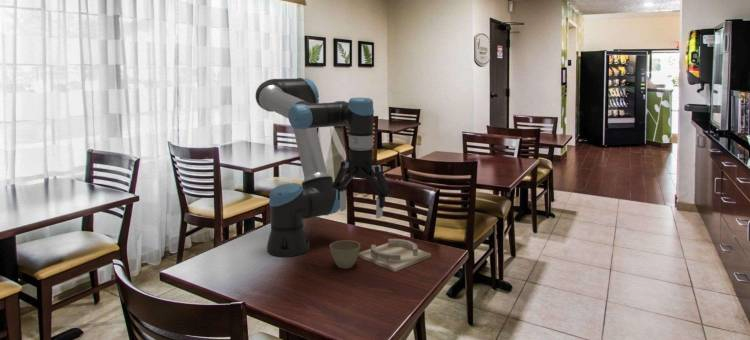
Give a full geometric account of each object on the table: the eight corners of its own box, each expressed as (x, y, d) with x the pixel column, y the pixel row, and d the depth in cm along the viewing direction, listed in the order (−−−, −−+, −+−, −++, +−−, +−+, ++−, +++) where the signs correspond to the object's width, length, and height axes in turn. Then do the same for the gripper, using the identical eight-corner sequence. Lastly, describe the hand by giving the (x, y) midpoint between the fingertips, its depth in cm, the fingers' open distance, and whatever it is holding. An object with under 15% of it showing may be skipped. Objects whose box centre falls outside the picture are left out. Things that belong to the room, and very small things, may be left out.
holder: (357, 256, 172) (357, 246, 171) (393, 243, 184) (393, 234, 183) (394, 271, 159) (394, 260, 158) (431, 256, 171) (431, 246, 170)
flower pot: (356, 272, 158) (356, 251, 157) (326, 270, 160) (326, 249, 159) (363, 261, 168) (363, 241, 166) (335, 259, 170) (334, 239, 168)
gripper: (321, 146, 156) (322, 210, 161) (390, 154, 144) (389, 223, 149) (334, 142, 162) (335, 204, 167) (402, 150, 150) (400, 216, 155)
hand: (360, 213), depth 158 cm, fingers open, 13 cm apart
